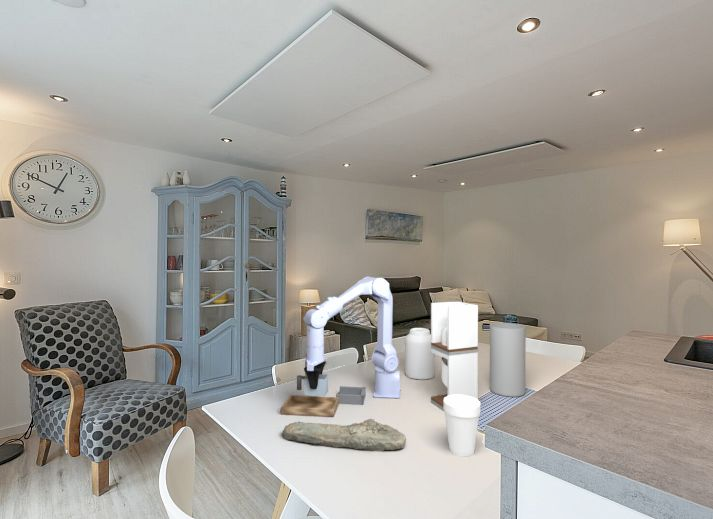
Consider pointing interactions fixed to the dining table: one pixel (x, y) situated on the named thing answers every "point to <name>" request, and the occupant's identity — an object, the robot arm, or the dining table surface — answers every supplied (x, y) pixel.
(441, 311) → the white shelf unit
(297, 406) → the tray
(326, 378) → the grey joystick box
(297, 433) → the long grey stone
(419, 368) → the white jar
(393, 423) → the dining table surface
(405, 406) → the dining table surface
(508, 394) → the cylinder vase
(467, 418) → the foam cup
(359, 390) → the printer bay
